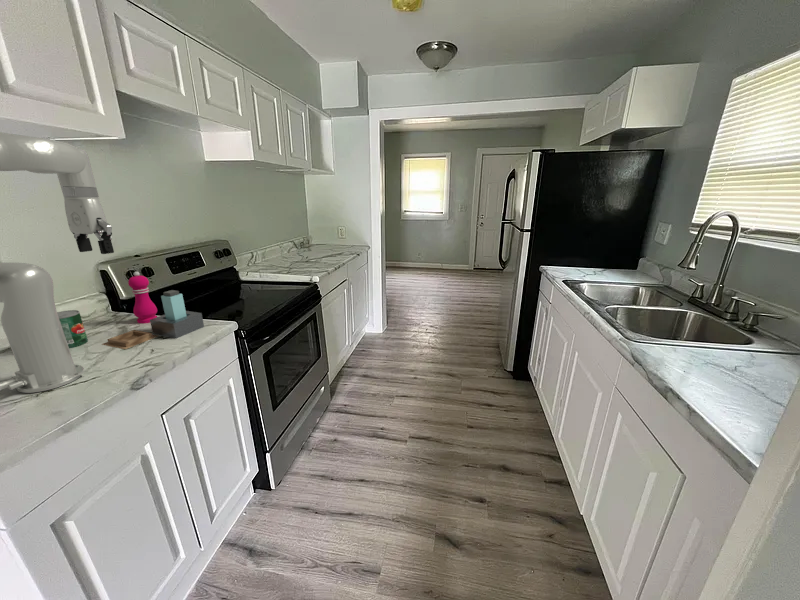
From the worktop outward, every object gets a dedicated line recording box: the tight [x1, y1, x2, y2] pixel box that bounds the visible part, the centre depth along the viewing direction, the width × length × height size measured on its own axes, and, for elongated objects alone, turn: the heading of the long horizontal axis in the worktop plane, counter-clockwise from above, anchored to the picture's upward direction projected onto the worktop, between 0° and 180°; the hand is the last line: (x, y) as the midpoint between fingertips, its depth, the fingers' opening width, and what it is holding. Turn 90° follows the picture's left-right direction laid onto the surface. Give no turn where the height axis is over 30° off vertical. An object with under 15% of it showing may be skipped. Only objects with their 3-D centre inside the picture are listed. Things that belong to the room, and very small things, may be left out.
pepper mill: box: [127, 271, 158, 325], centre depth 123 cm, size 7×7×20 cm
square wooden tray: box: [101, 329, 159, 350], centre depth 109 cm, size 11×11×2 cm
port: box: [149, 310, 205, 339], centre depth 117 cm, size 11×11×6 cm
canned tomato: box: [57, 309, 89, 349], centre depth 104 cm, size 8×8×11 cm
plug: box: [160, 289, 187, 321], centre depth 115 cm, size 4×4×11 cm
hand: (96, 252), depth 100 cm, fingers open, 9 cm apart
